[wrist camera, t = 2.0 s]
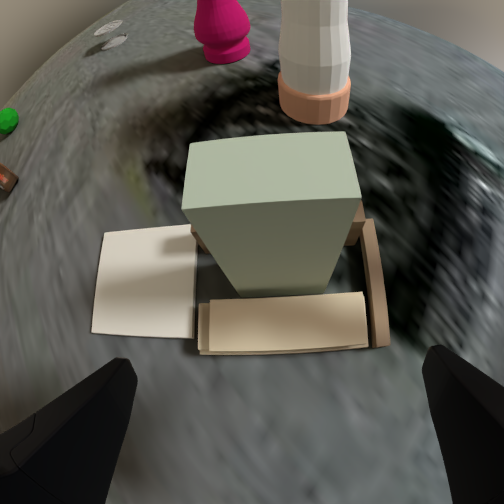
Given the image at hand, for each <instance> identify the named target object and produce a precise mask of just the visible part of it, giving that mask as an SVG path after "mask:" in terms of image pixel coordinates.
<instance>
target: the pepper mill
mask: <svg viewBox="0 0 504 504" xmlns="http://www.w3.org/2000/svg"><path fill="white" fill-rule="evenodd" d="M249 30H250V22H249V19H248V16H247V14H246V12H245V11H244V10H243V8H242V7H241V6H240V4H239V3H238V2H237V0H197V11H196V16H195V20H194V33H195V37H196V39H197V40H198V41H199V42H201V43H202V44H204V47H203V51H204V55H205V58H206V60H207V61H209V62H211V63H215V64H226V63H232V62H236V61H238V60H241V59H242V58H244V57H246V56H247V55H248V54H249V52H250V44H249V40H248V38H247V37H245V36H246V35H247V34H248V32H249Z"/></svg>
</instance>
